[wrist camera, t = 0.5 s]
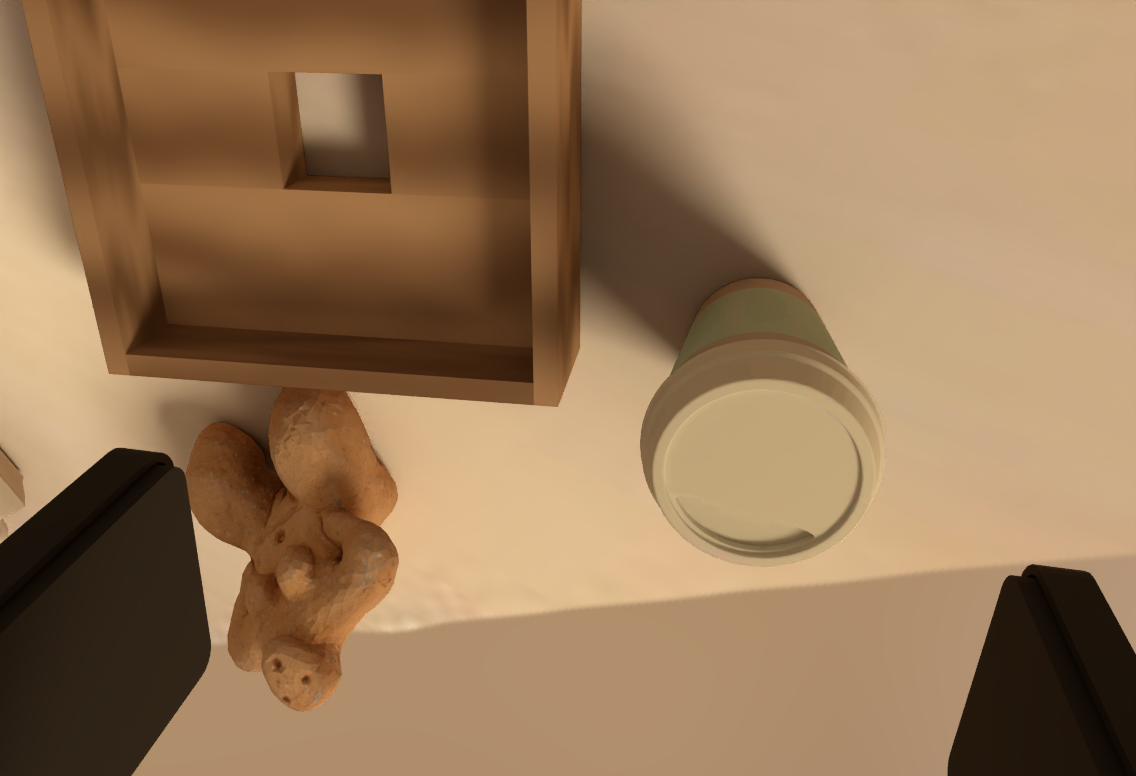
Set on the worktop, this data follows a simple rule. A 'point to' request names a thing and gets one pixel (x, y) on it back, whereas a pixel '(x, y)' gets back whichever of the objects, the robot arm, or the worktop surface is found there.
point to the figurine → (298, 536)
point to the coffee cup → (762, 432)
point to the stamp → (9, 492)
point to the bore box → (324, 192)
